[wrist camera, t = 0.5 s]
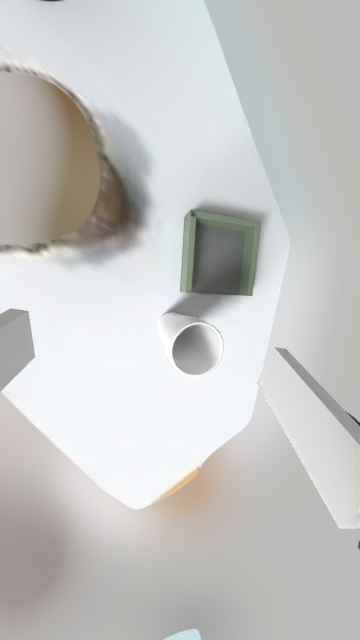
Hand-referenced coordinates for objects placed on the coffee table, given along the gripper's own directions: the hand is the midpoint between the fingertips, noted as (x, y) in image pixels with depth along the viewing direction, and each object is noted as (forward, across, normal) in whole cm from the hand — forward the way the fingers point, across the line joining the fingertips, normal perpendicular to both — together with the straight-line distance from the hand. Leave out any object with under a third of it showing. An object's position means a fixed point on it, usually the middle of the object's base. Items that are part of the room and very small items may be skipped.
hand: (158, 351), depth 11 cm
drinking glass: (+24, +3, -11) cm, 26 cm away
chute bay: (+29, +9, +2) cm, 30 cm away
